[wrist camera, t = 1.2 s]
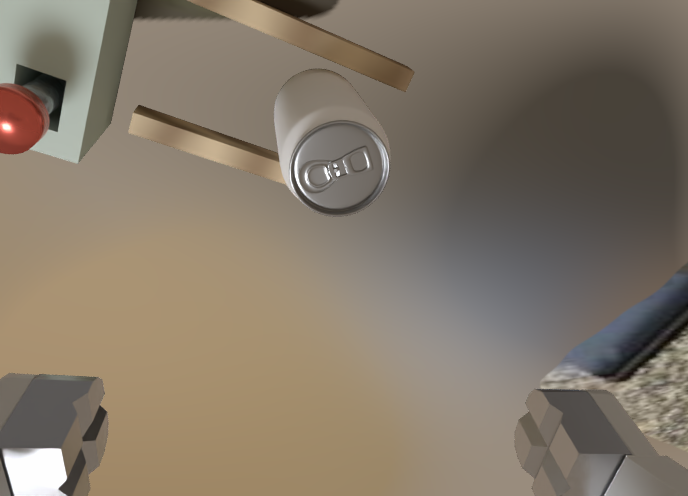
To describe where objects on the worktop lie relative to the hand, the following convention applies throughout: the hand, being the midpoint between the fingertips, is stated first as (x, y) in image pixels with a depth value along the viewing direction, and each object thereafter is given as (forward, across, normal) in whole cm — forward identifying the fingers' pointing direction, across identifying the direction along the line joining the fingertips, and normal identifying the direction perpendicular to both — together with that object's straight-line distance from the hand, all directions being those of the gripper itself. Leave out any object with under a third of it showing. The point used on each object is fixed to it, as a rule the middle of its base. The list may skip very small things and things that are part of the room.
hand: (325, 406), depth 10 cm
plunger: (+25, +14, 0) cm, 29 cm away
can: (+32, -1, +2) cm, 32 cm away
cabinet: (+30, +14, -2) cm, 33 cm away
